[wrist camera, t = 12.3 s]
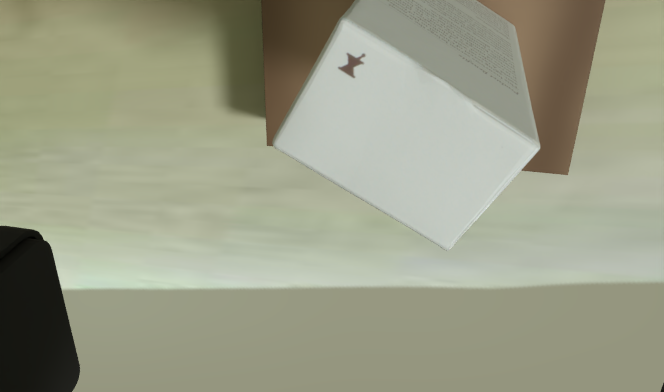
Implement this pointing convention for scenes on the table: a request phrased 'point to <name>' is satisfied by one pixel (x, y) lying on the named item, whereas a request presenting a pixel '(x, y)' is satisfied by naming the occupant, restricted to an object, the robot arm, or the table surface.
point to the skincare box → (416, 112)
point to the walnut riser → (510, 3)
